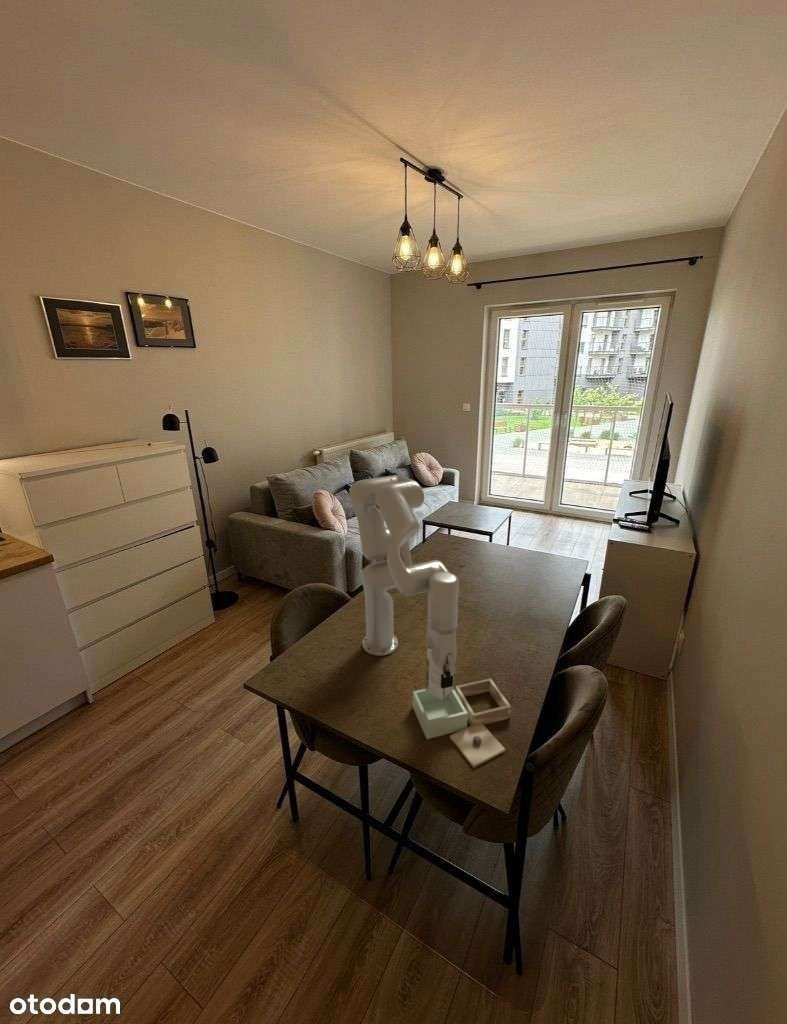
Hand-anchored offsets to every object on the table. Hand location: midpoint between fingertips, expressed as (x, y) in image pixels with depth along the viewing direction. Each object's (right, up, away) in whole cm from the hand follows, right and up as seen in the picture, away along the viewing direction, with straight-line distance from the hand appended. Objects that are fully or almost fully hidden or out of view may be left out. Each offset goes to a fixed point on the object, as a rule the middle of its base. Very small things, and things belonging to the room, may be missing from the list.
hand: (440, 675), depth 112 cm
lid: (+9, -17, -3) cm, 19 cm away
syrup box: (0, -5, +2) cm, 5 cm away
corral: (+13, -12, +8) cm, 20 cm away
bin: (0, -14, +5) cm, 14 cm away
